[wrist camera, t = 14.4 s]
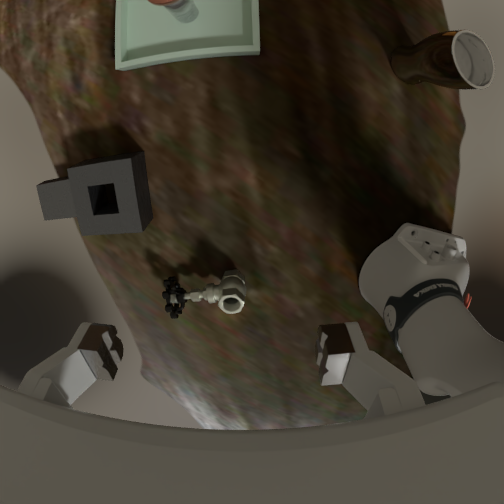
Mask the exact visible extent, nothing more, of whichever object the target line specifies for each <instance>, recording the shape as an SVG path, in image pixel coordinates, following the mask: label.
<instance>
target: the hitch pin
mask: <svg viewBox="0 0 504 504" xmlns="http://www.w3.org/2000/svg"><path fill="white" fill-rule="evenodd" d="M148 1H149V2H150V3H151V4H153V5H157V6H164V7H165V8H166V9H167V10H168V11H169V12H170V13H171V14H172V15H173V16H174V17H175V18H176V19H177V20H178V21H179V22H181V23H190V22H192V21H194V20H195V19H196V18H197V16H198V14H199V11H198V8H197V7H196V5H195V3H194V2H193V0H148Z"/></svg>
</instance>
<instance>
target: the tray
mask: <svg viewBox="0 0 504 504" xmlns="http://www.w3.org/2000/svg"><path fill="white" fill-rule="evenodd" d="M193 2H194V3H195V5H196V7H197V8H198V11H199V14H198V16H197V18H196V19H195V20H194V21H192V22H190V23H181V22H179V21H178V20H177V19H176V18H175V17H174V16H173V15H172V14H171V13H170V12H169V11H168V10H167V9H166V8H165V7H164V6H157V5H153V4H151V3H150V2H149V1H148V0H116V16H115V69H116V70H122V71H126V70H131V69H136V68H141V67H146V66H151V65H157V64H163V63H169V62H176V61H183V60H191V59H200V58H211V57H224V56H243V55H260V30H259V3H258V0H193Z"/></svg>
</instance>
